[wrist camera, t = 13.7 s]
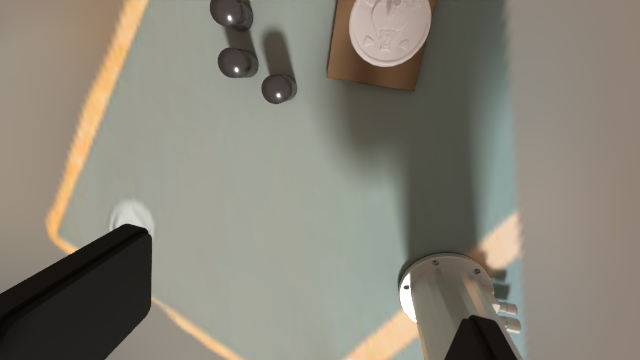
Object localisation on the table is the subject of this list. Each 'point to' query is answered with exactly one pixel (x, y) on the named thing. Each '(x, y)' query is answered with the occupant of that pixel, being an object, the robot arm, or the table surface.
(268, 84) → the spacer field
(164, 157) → the table surface
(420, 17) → the smoothie
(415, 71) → the walnut pad
